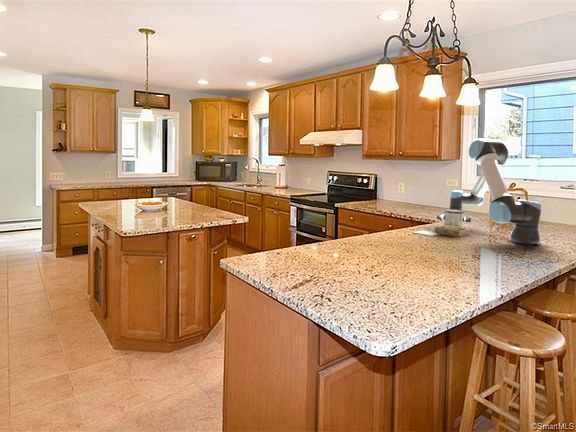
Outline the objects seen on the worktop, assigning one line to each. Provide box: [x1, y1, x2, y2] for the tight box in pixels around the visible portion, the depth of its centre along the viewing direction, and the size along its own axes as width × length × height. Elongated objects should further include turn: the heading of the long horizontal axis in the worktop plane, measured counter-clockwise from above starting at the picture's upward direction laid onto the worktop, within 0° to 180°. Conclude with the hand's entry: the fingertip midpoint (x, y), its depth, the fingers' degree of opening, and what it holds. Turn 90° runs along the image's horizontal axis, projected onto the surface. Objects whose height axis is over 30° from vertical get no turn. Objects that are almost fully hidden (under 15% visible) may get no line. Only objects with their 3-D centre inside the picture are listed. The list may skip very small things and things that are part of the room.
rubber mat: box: [412, 230, 442, 237], centre depth 246 cm, size 12×12×1 cm
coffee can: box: [443, 208, 464, 231], centre depth 248 cm, size 10×10×14 cm
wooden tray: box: [434, 226, 471, 238], centre depth 249 cm, size 14×14×3 cm
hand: (453, 220), depth 244 cm, fingers open, 12 cm apart
